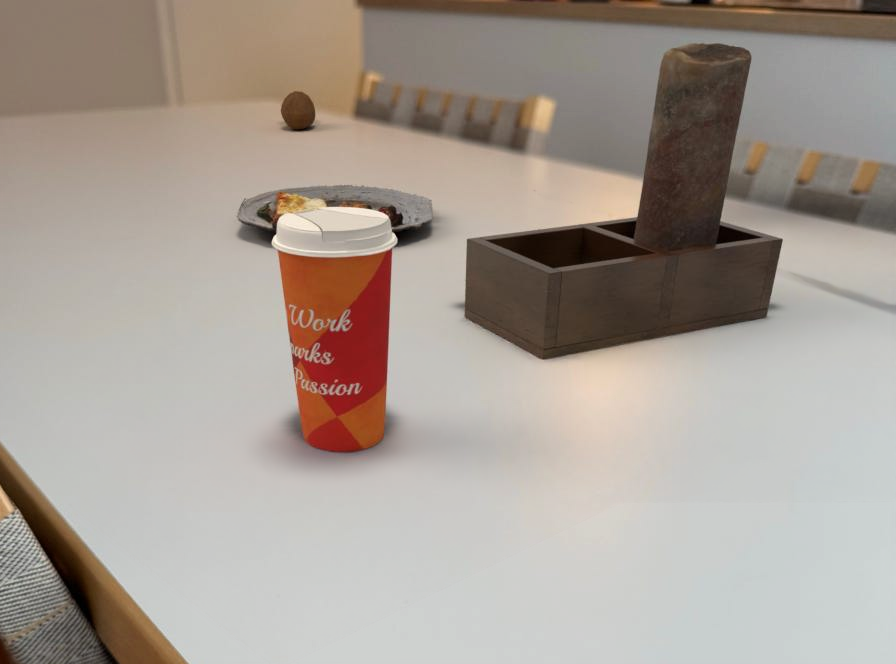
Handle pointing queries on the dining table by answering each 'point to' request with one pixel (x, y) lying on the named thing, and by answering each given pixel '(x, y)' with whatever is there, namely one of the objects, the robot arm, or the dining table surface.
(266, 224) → the food plate
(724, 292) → the brown wooden divided box
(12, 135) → the dining table surface
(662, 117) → the candle
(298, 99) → the potato
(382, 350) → the paper cup
